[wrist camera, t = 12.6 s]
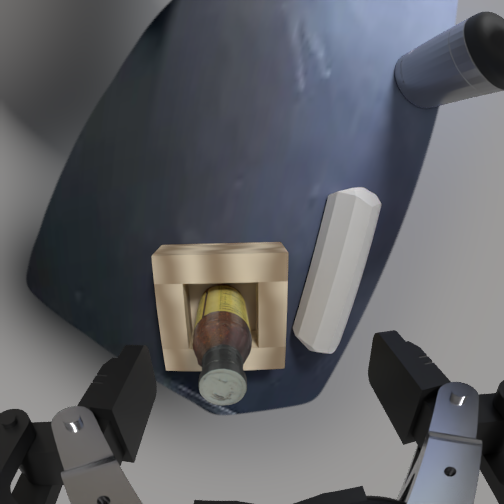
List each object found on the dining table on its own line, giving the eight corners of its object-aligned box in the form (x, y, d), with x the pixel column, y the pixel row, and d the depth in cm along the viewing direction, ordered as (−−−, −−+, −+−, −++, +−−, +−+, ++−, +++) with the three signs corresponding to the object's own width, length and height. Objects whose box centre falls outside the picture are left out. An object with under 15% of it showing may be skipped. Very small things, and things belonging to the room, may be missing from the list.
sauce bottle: (218, 330, 45) (211, 428, 25) (190, 297, 43) (163, 385, 24) (256, 305, 44) (272, 396, 25) (228, 270, 43) (226, 347, 23)
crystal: (350, 358, 44) (401, 198, 39) (318, 368, 40) (373, 187, 35) (317, 335, 50) (359, 188, 45) (284, 341, 46) (328, 178, 41)
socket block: (280, 242, 43) (288, 252, 37) (278, 346, 47) (284, 368, 41) (162, 245, 42) (151, 255, 36) (172, 348, 46) (166, 370, 40)
